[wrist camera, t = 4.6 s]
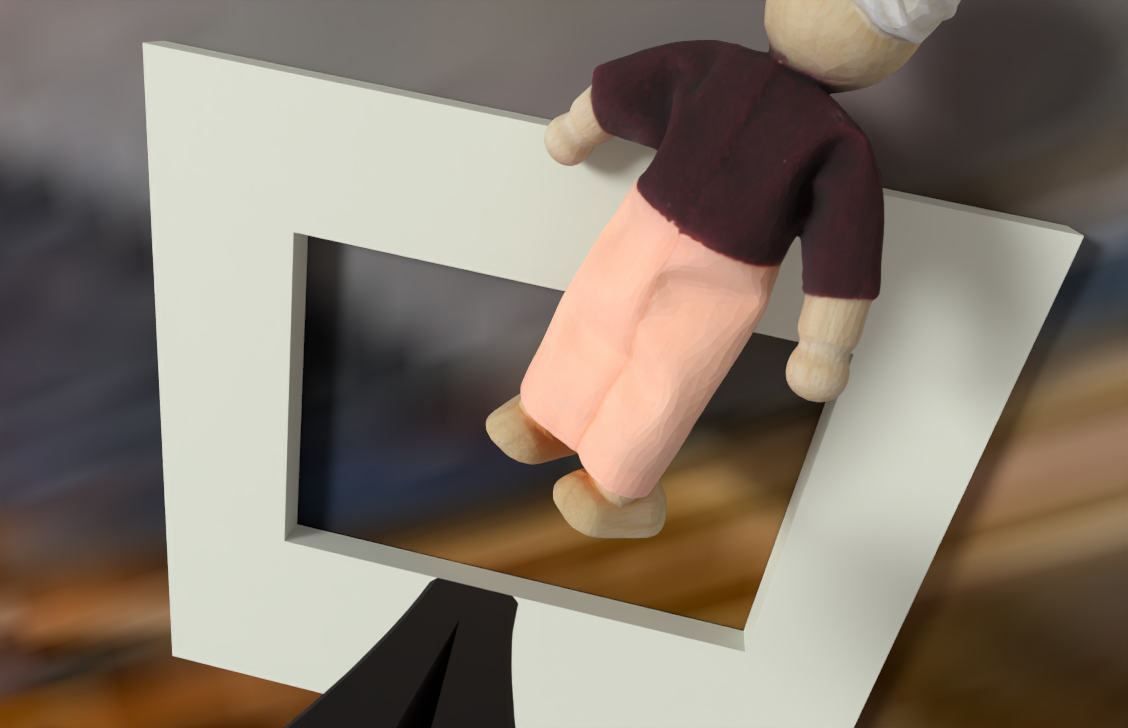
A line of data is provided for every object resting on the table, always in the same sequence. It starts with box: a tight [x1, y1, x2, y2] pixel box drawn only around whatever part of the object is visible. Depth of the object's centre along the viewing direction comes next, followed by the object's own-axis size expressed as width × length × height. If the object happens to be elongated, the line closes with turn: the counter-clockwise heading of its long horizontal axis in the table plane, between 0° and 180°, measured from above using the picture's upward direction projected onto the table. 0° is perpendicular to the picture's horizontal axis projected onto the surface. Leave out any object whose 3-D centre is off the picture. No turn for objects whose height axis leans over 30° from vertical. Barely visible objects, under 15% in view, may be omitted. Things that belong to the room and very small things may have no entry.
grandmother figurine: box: [486, 0, 961, 538], centre depth 15 cm, size 8×4×13 cm
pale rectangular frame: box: [143, 41, 1084, 728], centre depth 21 cm, size 18×20×1 cm
